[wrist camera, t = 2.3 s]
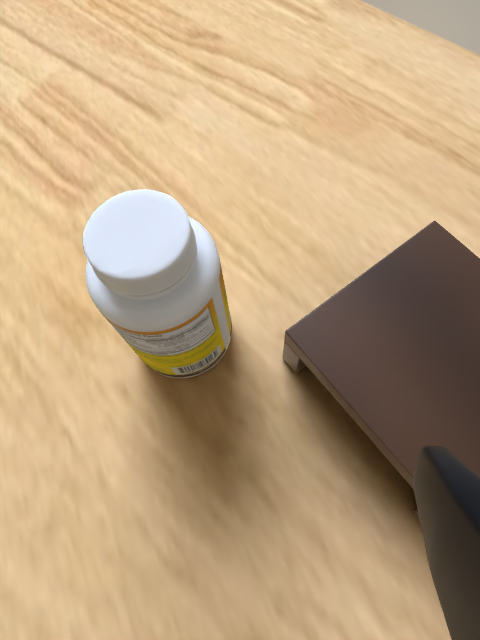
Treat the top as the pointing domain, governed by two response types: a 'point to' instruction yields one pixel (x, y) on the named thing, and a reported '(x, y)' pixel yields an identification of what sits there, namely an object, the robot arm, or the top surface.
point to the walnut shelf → (403, 350)
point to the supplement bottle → (158, 282)
